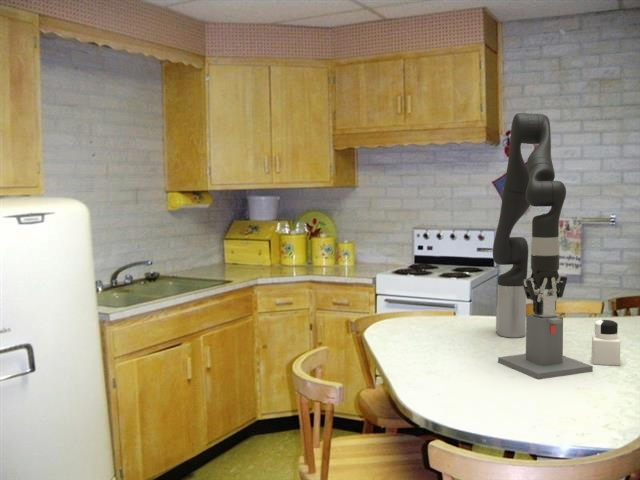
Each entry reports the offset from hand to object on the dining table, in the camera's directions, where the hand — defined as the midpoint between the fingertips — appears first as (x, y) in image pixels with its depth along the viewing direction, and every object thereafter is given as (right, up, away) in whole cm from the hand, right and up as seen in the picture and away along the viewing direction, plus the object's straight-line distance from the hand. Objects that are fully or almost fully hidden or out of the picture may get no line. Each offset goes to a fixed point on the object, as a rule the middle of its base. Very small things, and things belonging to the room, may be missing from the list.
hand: (544, 313), depth 190 cm
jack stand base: (0, -15, +1) cm, 15 cm away
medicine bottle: (+19, -15, +5) cm, 25 cm away
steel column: (0, -13, +1) cm, 13 cm away
